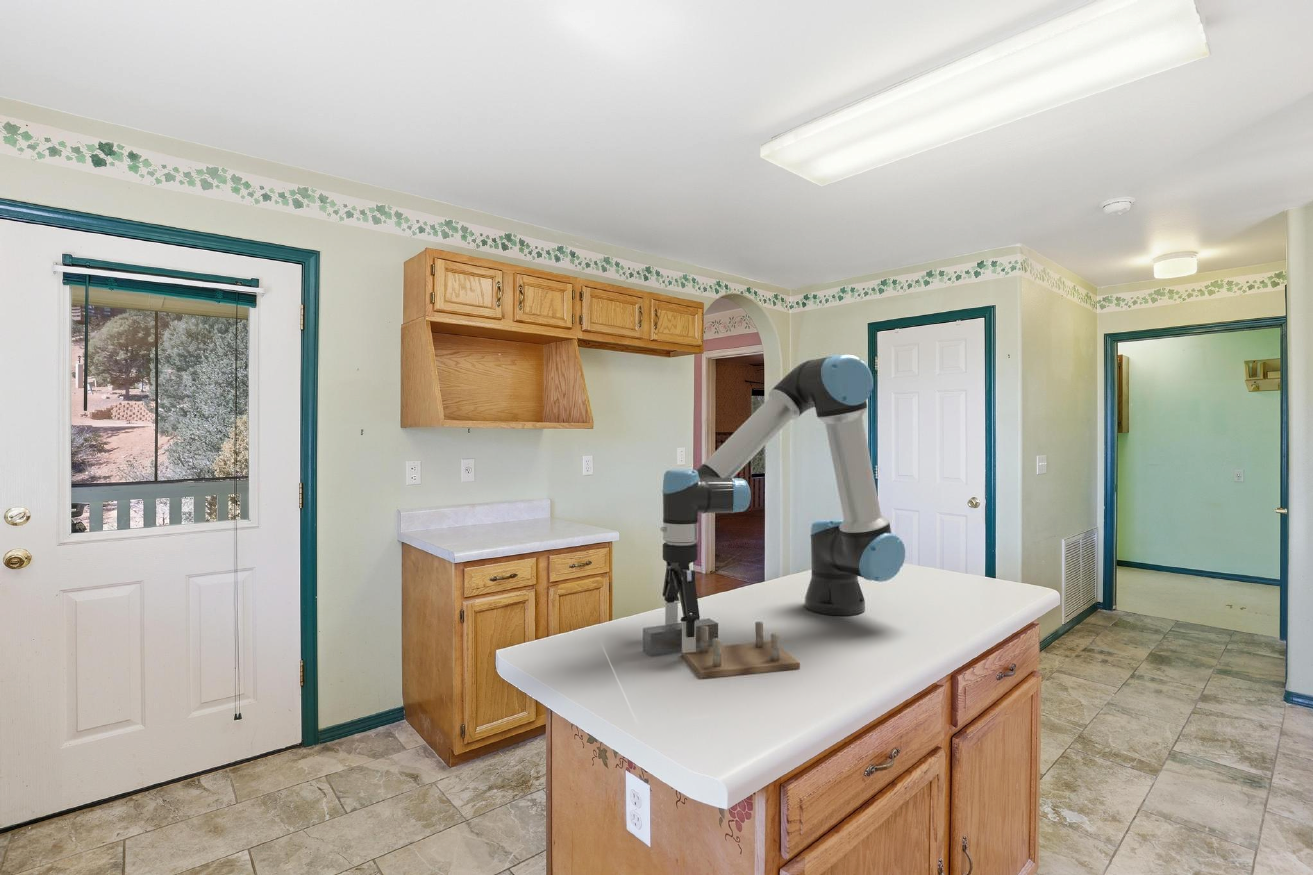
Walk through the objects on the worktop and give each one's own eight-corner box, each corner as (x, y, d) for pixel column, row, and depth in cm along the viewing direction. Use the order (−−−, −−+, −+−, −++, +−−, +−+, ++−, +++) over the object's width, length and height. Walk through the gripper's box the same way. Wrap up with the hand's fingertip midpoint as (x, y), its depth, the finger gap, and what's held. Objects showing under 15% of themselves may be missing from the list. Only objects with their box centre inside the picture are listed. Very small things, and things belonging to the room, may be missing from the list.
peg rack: (772, 646, 137) (772, 617, 137) (799, 668, 124) (799, 636, 124) (682, 655, 132) (682, 625, 132) (700, 678, 120) (700, 645, 120)
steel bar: (709, 640, 142) (709, 618, 142) (718, 646, 139) (718, 623, 139) (643, 651, 136) (642, 628, 136) (650, 657, 132) (650, 633, 132)
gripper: (649, 533, 148) (649, 625, 148) (679, 553, 124) (678, 662, 124) (681, 532, 150) (680, 623, 150) (716, 551, 126) (715, 659, 126)
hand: (679, 641), depth 137 cm, fingers open, 13 cm apart
